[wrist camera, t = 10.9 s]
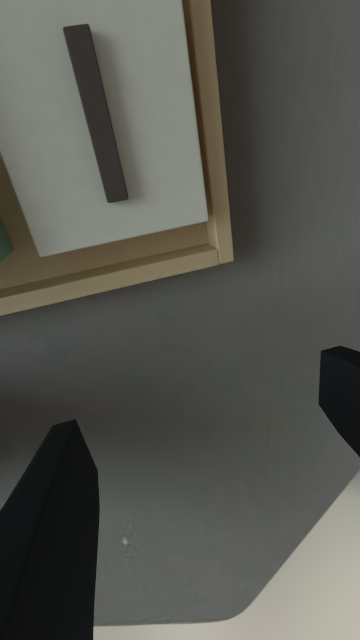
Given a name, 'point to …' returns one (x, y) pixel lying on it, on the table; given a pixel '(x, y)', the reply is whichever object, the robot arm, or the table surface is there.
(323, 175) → the table surface
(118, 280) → the frame tray
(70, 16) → the cream pad
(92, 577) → the robot arm
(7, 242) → the green pad
